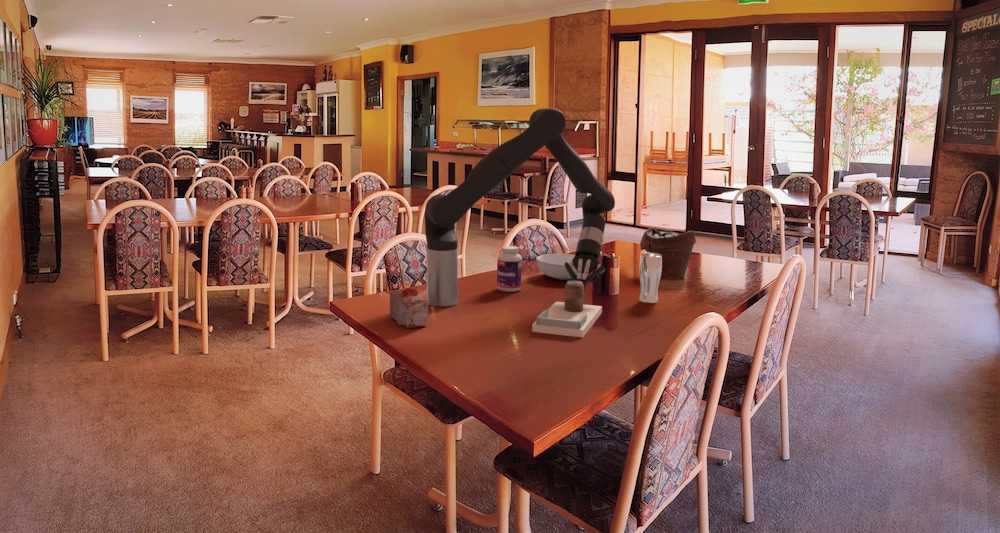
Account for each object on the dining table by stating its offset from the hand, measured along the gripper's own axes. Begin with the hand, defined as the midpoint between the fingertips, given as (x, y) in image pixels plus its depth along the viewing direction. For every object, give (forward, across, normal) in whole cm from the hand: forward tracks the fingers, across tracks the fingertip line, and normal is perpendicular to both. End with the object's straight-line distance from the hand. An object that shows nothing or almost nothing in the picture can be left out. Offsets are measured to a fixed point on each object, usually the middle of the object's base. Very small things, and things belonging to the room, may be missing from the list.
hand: (579, 291), depth 218 cm
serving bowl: (-25, -14, +34) cm, 45 cm away
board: (+13, 0, -5) cm, 14 cm away
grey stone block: (+26, -42, -18) cm, 52 cm away
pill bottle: (-7, -27, +16) cm, 32 cm away
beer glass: (-9, +18, +18) cm, 27 cm away
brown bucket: (-38, +20, +46) cm, 63 cm away
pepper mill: (+8, 0, -2) cm, 8 cm away
